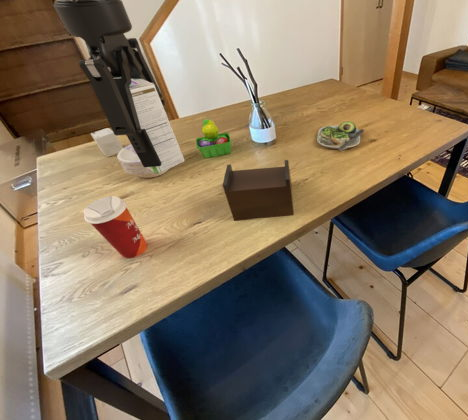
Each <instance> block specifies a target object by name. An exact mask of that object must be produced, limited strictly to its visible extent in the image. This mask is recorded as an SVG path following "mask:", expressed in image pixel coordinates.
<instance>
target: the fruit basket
mask: <svg viewBox="0 0 468 420" xmlns="http://www.w3.org/2000/svg"><path fill="white" fill-rule="evenodd" d="M201 132H202V134H203V136H201V137H197V138H196V139H195V145H196V149H197V150H199V152H200V154H201V155H202V157H203V158H204V159H210V158H214V157H218V156H219V157H220V156H224V155H228V154H231V150H232V148H231V145H232V140H231V137H230V132H222V133H219V128H218V127H217V125H216V124H215V122H214V120H211V119H209V118H207V119H205V118H204V120H203V122H202V129H201Z"/></svg>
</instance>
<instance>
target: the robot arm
mask: <svg viewBox="0 0 468 420" xmlns="http://www.w3.org/2000/svg"><path fill="white" fill-rule="evenodd" d="M53 3H54V4H53V8H54V9H55V12H56V13H57V15H58V17H59V18H60V20H61V22H62V24H63V25H64V27H65V30H66V31H67V33H68V34H69V35H70V36H72V37H75V38H80V39H81V40H83V41H84V43H85V46H86V49H87V52H88V56H89V58H88V59H80V60H79V61H78V65H79V67H80V69H81V70H82V72H83V73H84V75H85V77H86V79H88V80H89V82H90V85H91V87H92V89H93V91H94V93H95V96H96V98H97V100H98V102H99V105H100V107H101V109H102V111H103V113H104V116H105V118H106V119H107V122H108V124H109V126H110V128H111V130H112V131H113V133H114V134H115V135H116V137H118V136H126V137H127V139H128V141H129V143H130V144H132V146H133V148H134V150H135V152H136V154H137V155H138V157H139V159H140V161H141V163H142V165H143V166H144V167H156V166H161V164H162V163H161V161H160V159H159V157H158V155H157V153H156V151H155V149H154V147H153V144H152V142H151V140H150V138H149V136H148V134H147V132H146V130H145V129H141V126H140V123H139V119H138V116H137V112H136V109H135V105H134V101H133V98H132V94H131V91H130V89H129V88H130V87H129V85H130V84H131V78H133V79H144V80H146V81H148V82H150V83H154V85H155V88H156V90H157V93H158V95H159V97H160V100H161V102H162V105H163V107H165V105H166V101H165V100H164V99H162V98H163V95H162V92H161V91H160V88H159V87H158V84H157V82H156V80H155V77H154V76H153V74H152V71H151V69H150V67H149V66H148V63H147V61H146V59H145V57H144V55H143V53H142V48H141V46H140V44H139V41H138V39H137V38H136V37H128V38H127V37H126V35H125V34H126V33H129V32H131V31H132V29H133V24H132V22H131V19H130V17H129V15H128V12H127V10H126V7H125V5H124V3H123V0H55V1H53Z"/></svg>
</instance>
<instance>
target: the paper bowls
mask: <svg viewBox="0 0 468 420" xmlns="http://www.w3.org/2000/svg"><path fill="white" fill-rule="evenodd" d="M116 155H117V156H116V158H117V160H118V162H119V164H120V166H121V167H122V169H123V171H124V172H125V173H126V174H129V175H132V176H137V177H140V178H144V179H151V178H155V177H159V176H162V175H164V174H165V173H167V172H168V171H169V170H170V169H168V170H165V171H163V172H161V173H159V174H155V173H154V172H153V171H152V170H150V169H149V168H148V167H144V166H143V165H142V163H141V161H140V159H139V157H138V155H137V154H136V152H135V150H134V148H133V146H132V144H131V143H130V144H128V145H126V146H124V147H123V149H122V150H121V151H120V152H119V153H117V154H116Z"/></svg>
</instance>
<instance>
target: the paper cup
mask: <svg viewBox="0 0 468 420" xmlns="http://www.w3.org/2000/svg"><path fill="white" fill-rule="evenodd" d="M83 209H84V210H83V217H84V221H85V222H86V223H88V224H91V226H92V227H93V228H94V229H95V230H96V231H97V232H98V233H99V234H100V235H101V236H102V237H103V238H104V239H105V240H106V241H107V242H108V243H109V244H110V245H111V246H112V248H113V249H115V250H116V252H118V254H119V255H121V256H122V257H123V258H125V259H133V258H136V257H138V256H140V255H141V254H143V253H144V252H145V251H146V249H147V247H148V243H147V241H146V239H145V237H144V236H143V234H142V231H141V230H140V228H139V226H138V225H137V223H136V221H135V219H134V218H133V216H132V214H131V212H130V211H129V209H128V207H127V201H125V200H124V199H122V198H120V197H118V196H116V195H109V196H104V197H100V198H98V199H95V200H94V201H92V202H90V203H89V204H88V205H87V206H86V207H84V208H83Z"/></svg>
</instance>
